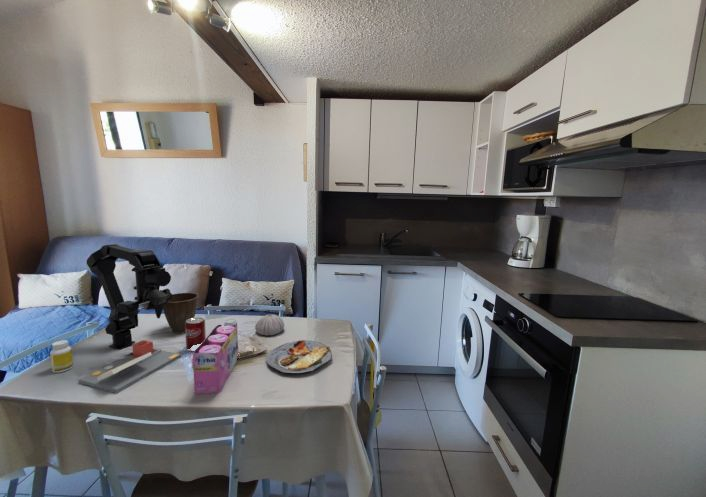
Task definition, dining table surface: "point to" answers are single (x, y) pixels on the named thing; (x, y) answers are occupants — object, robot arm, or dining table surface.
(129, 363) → the yellow-striped white slab
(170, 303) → the plant pot
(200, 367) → the gum box
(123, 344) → the robot arm
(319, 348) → the food plate
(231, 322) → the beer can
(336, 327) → the dining table surface
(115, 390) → the panel
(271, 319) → the sea urchin shell
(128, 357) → the socket
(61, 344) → the supplement bottle
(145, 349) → the red block
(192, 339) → the soda can
